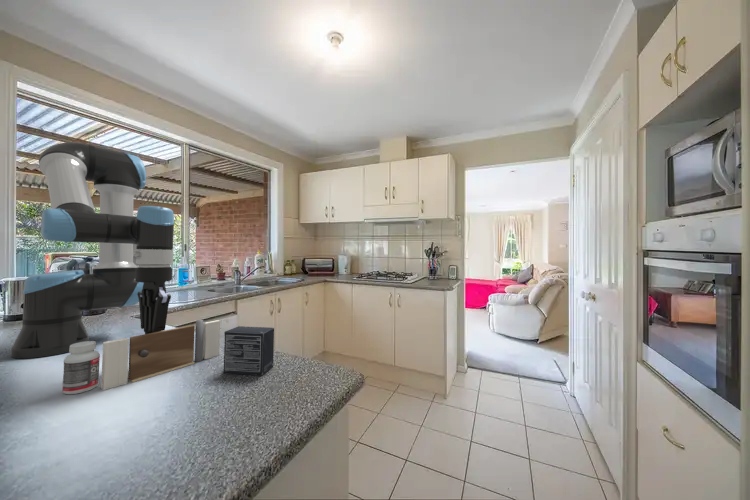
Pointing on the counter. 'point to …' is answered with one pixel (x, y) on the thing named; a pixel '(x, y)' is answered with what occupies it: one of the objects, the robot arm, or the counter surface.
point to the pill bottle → (81, 368)
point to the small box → (248, 350)
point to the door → (160, 351)
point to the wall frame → (118, 370)
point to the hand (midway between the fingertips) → (151, 357)
